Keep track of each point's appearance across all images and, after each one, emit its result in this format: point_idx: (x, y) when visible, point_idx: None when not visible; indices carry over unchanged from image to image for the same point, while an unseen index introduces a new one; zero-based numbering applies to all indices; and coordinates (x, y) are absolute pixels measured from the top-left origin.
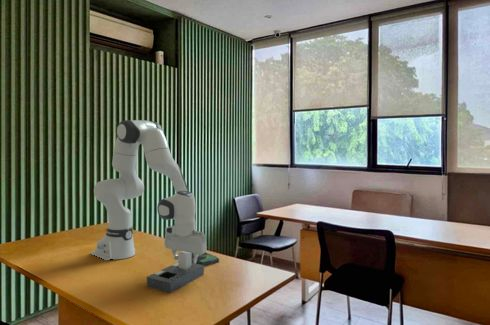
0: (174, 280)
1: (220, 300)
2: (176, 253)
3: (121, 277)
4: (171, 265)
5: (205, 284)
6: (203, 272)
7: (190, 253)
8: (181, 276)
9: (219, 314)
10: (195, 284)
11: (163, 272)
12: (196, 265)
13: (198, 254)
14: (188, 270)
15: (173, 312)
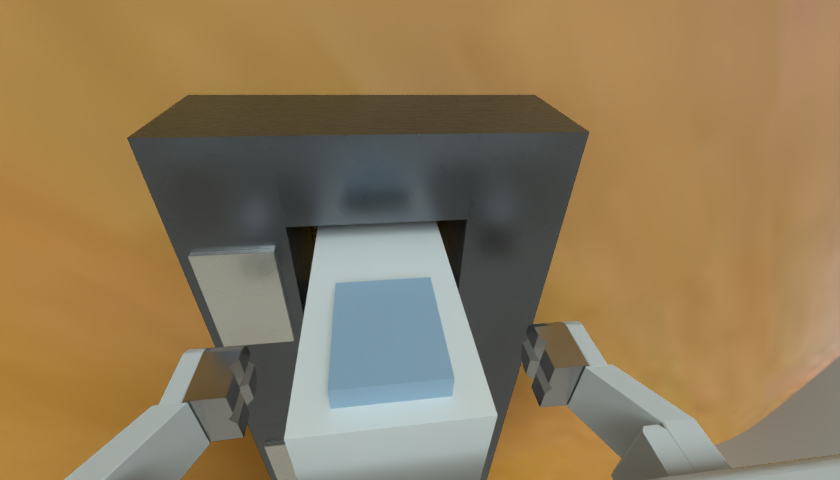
0: (489, 463)
1: (748, 355)
2: (167, 441)
3: (4, 456)
4: (215, 338)
5: (625, 265)
6: (542, 105)
7: (488, 423)
8: (497, 420)
9: (746, 416)
10: (552, 297)
11: None
12: (493, 193)
13: (694, 444)
14: (484, 336)
15: (570, 473)
